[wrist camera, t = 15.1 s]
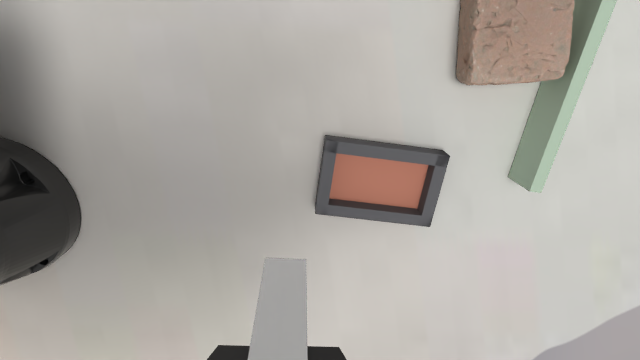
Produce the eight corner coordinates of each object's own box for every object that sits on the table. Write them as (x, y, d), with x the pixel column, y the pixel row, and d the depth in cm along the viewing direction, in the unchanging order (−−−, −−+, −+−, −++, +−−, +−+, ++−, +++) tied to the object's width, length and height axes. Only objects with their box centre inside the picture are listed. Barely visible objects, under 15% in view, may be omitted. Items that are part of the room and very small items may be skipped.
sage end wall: (507, 177, 38) (529, 191, 34) (622, -150, 28) (670, -181, 24) (518, 178, 38) (541, 192, 34) (636, -148, 28) (686, -178, 24)
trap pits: (315, 205, 38) (315, 213, 36) (390, -312, 24) (396, -342, 22) (424, 218, 39) (429, 226, 37) (558, -275, 25) (578, -301, 23)
